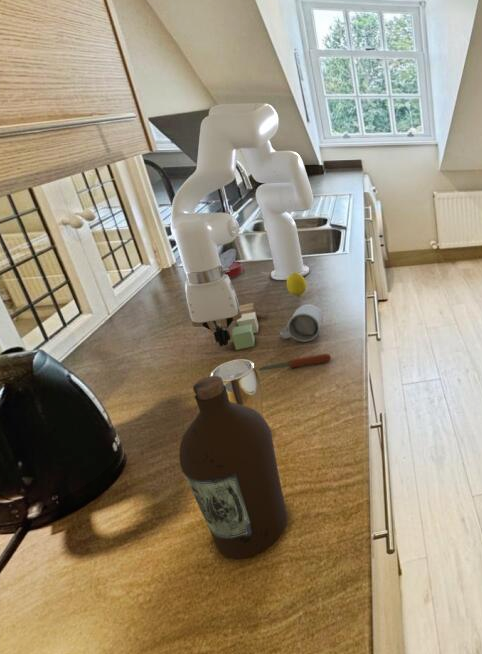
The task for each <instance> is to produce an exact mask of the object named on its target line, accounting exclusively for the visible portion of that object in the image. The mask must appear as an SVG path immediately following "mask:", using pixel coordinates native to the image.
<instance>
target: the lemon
mask: <svg viewBox="0 0 482 654" xmlns="http://www.w3.org/2000/svg"><path fill="white" fill-rule="evenodd" d="M304 277H305V276H302V275H300V274H298V273H295V272H294V273H293V274H291V275H290V276H289V277H288V278H287V280H286V289H287V291H288V292H289V293H290V295H292V296H295V297H298V298H299V297H301V295H303V294H305V292H306V290H307V282H306V279H305V278H304Z"/></svg>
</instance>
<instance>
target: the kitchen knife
mask: <svg viewBox="0 0 482 654" xmlns="http://www.w3.org/2000/svg"><path fill="white" fill-rule="evenodd" d="M331 359H332V356H331V354H330V353H320V354H319V353H318V354H314V355H309V356H303V357H298V358H291V359H289V360H287V361H282V362H278V363H273V364H268V365H264V366H261V367H259V368H258V370H257V371H260V372H261V371H268V370H276V369H282V368H288V367H289V368H291V369H294V368H297V367H302V366H308V365H309V366H310V365H317V364H325V363H328V362H330V361H331Z"/></svg>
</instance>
